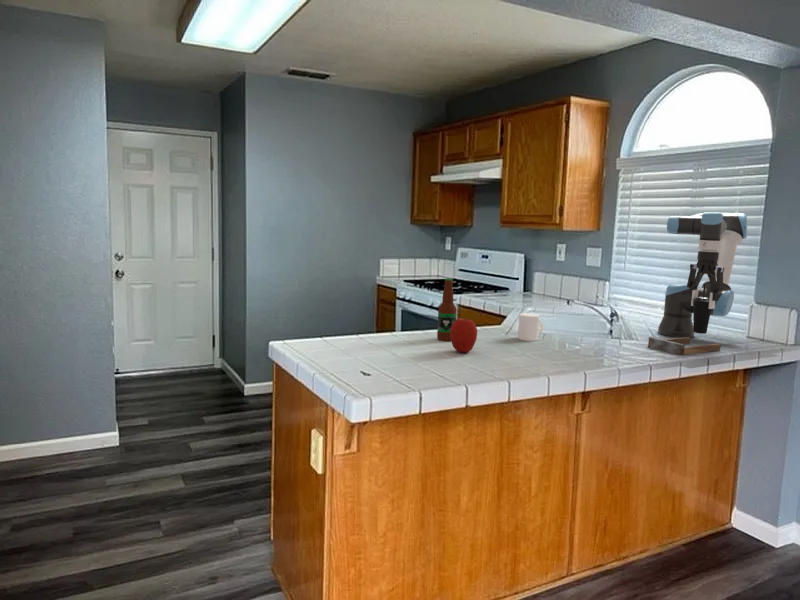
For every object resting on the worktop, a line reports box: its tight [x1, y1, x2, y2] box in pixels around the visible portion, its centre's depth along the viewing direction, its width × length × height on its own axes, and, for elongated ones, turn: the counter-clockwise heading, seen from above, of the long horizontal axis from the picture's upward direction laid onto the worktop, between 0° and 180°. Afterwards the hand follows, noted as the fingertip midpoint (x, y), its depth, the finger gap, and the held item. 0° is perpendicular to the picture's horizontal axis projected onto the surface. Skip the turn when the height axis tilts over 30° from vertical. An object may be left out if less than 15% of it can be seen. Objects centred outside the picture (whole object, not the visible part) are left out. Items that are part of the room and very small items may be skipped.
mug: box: [517, 312, 544, 342], centre depth 250 cm, size 8×10×12 cm
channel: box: [647, 336, 721, 356], centre depth 241 cm, size 15×24×4 cm, turn 118°
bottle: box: [436, 277, 457, 342], centre depth 241 cm, size 7×7×25 cm
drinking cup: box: [692, 284, 711, 335], centre depth 243 cm, size 8×8×20 cm
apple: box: [450, 315, 478, 354], centre depth 220 cm, size 10×10×14 cm
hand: (702, 307), depth 243 cm, fingers closed on drinking cup, 7 cm apart
